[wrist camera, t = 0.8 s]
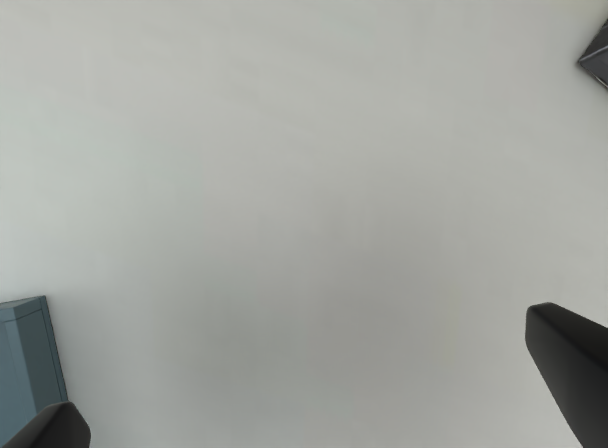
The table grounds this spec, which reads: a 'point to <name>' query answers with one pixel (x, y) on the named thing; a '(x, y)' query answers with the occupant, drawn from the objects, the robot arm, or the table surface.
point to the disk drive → (598, 56)
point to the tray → (27, 364)
